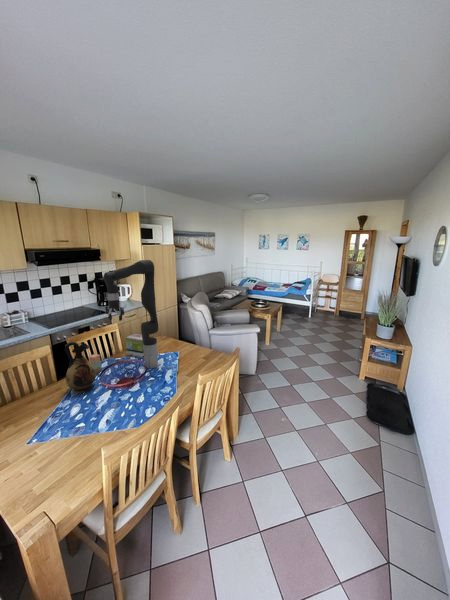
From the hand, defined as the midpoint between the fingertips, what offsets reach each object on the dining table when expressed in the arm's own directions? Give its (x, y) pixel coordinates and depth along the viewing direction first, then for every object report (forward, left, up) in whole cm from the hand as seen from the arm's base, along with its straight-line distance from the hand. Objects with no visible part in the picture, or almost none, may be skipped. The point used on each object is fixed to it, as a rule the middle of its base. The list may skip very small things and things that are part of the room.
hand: (115, 320), depth 180 cm
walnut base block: (-14, +19, -30) cm, 38 cm away
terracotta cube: (-14, +19, -22) cm, 32 cm away
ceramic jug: (-29, +31, -30) cm, 52 cm away
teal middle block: (-14, +19, -26) cm, 35 cm away
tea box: (-3, -14, -30) cm, 34 cm away
